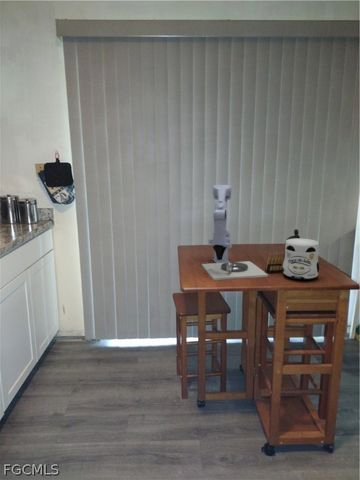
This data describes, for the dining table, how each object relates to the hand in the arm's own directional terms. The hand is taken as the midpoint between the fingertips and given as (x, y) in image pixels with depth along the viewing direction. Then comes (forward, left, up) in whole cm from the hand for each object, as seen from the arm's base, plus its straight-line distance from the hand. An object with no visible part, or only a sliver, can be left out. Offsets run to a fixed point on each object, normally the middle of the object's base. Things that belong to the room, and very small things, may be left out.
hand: (219, 259), depth 190 cm
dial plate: (-5, +9, -8) cm, 13 cm away
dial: (-4, +9, -7) cm, 12 cm away
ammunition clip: (+1, +30, -8) cm, 31 cm away
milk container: (+12, +38, -8) cm, 41 cm away
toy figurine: (-28, +54, -8) cm, 61 cm away
